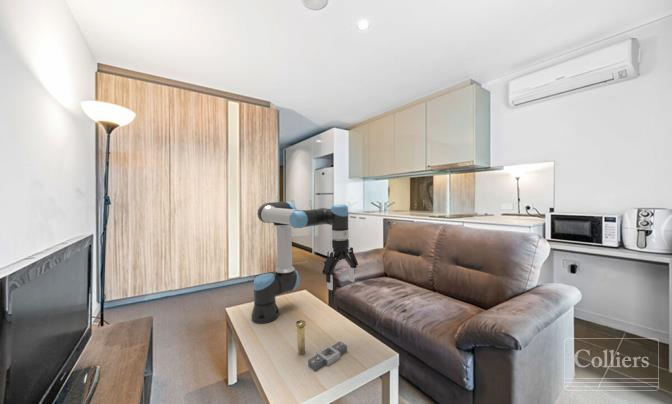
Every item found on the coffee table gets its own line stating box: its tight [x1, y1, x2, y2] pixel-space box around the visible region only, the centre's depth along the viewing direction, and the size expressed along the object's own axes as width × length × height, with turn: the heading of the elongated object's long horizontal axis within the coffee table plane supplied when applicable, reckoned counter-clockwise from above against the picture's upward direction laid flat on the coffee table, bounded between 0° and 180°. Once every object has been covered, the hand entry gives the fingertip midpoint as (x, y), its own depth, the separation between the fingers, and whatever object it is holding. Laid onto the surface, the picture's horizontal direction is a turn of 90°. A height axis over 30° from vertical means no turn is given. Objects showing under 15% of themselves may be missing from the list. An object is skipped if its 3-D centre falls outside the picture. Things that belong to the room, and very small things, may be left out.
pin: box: [295, 319, 307, 356], centre depth 112 cm, size 4×4×14 cm
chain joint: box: [307, 341, 348, 372], centre depth 108 cm, size 18×7×3 cm, turn 133°
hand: (341, 285), depth 116 cm, fingers open, 13 cm apart
